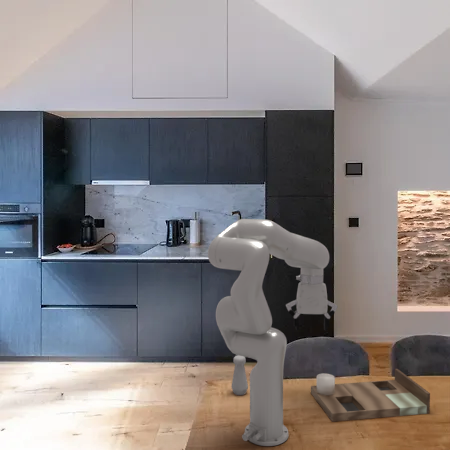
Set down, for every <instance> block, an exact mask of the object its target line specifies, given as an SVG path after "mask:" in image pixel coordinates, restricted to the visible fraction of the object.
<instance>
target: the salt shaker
mask: <svg viewBox="0 0 450 450" xmlns="http://www.w3.org/2000/svg"><path fill="white" fill-rule="evenodd" d="M246 362H247V361H246V357H244V356H240V355H235V356H234V357H233V364H234V369H233V375H232V381H231V389H232V393H233V394H234V395H236V396H244V395H246V393H247V391H248V389H249V385H248V384H249V383H248V381H247V373H246V368H245V367H246V366H245V364H246Z"/></svg>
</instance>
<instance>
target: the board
mask: <svg viewBox="0 0 450 450" xmlns="http://www.w3.org/2000/svg"><path fill="white" fill-rule="evenodd" d="M310 394H311V396H313V398H314V400H315V401H316V402H317V403H318V404H319V406H320V407H321V408H322V410H323V411H324V412H325V415H326V416H327V417H328V418H329V420H330V421H331V422H344V421H353V420H354V421H355V420H367V419H376V418H391V417H401V416H402V417H403V416H404V417H405V416H411V415H412V416H413V415H414V416H415V415H426V414H430V412H431V411H430V410H431V408H430V407H431V393H430V392H429V391H428V390H426V389H425V388H424V387H423V386H421V385H420V384H418V382H416V381H414V380H413V379H412V378H410V377H409V376H408V375H406V374H405V373H404V372H403V371H401V370H400V369H398V368H394V379H388V380H386V379H385V380H374V381H361V382H346V383H345V382H344V383H335V393H334V394H333V395H321V394H319V393H317V384H315V385H311V386H310Z"/></svg>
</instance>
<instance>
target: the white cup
mask: <svg viewBox="0 0 450 450" xmlns="http://www.w3.org/2000/svg"><path fill="white" fill-rule="evenodd" d="M335 382H336V377H335V375H333V374H331V373H326V372H325V373H323V372H322V373H319V374H317V375H316V385H317V393H319V394H321V395H333V394H334V393H335V384H336V383H335Z"/></svg>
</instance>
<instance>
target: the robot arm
mask: <svg viewBox="0 0 450 450" xmlns="http://www.w3.org/2000/svg"><path fill="white" fill-rule="evenodd" d="M270 255H271V256H273V257H275V258H277V259H280V260H284V262H285V263H286V264H287V265H288V266H290V267H292V268H300V274H299V275H296V276H295V277H296V279H295V280H297V281H300V282H299V283H298V285H297V291H296V299H294V300H292V301H290V302H288V303H286V304H285V308H286V309H287V311H288V313H289V315H291V316H292V317H293V327H294V328H295V330H296V331H299V330H300V329H299V326H300V325H299V324H300V319H299V317H300V315H301V314H303V315H324V317H323V330H324V331H328V328H330V319H331V318H332V317H333V315H335V312H336V311H337V309H338V305H337V304H335V303H333V302H331V301H330V300H328V293H327V285H326V283H324V269H325V268H326V267H327V266H328V264H329V262H330V252H329V250H328V248H327V247H326V246H325V245H324V244H323V243H321V242H320V241H318V240H315V239H312V238H310V237H306V236H303V235H300V234H296V233H293V232H290V231H289V230H287V229H285V228H283V227H282V226H281V225H279V224H278V223H276V222H274V221H272V220H270V219H264V218H263V219H260V218H259V219H257V218H254V219H253V218H240V219H238V220H236V221H234V222H232V223H231V224H229V226H227V227H226V228H225V229H223V230H222V232H220V233H219V234H218V235H216V236H215V237H214V238H213V240H211V242H210V244H209V246H208V248H207V258H208V261H209V263H210V264H211V265H212V266H213V267H215V268H217V269H221V270H222V269H223V270H231V271H241V272H240V273H239V275H238V277H237V278H236V280H235V281H234V282H233V284H232V286H231V287H230V295H227V296H225V297H222V298H221V299H220V301H218V304H217V306H216V309H215V321H216V325H217V327H218V330H219V331H220V334H221V336H222V339H223V340H224V343H225V345H226V347H227V348H228V350H229V351H230V352H231V353H232V354H234V355H235V356H237V355H240V356H244V357H245V358H249V359H253V360H255V361H256V362H257V363H256V364H255V365H254V367H252V369H251V370H250V374H249V423H248V424H247V425H246V426H245V428H244V433H242V435H241V438H242V440H243V441H244V442H247V441H249V442H250V443H251V444H254V445H258V446H262V447H273V446H279V445H282V444H283V443H285V442H286V441H287V440H288V438H289V430H288V428H287V426H286V425H284V366H285V365H284V363H285V357H286V353H287V352H286V351H287V341H288V340H287V337H286V335H285V334H284V333H283V332H282V331H281V330H279V329H278V328H275V327H272V324H273V317H272V313H271V310H270V307H269V305H268V301H267V300H266V297H265V294H264V290H263V283H264V278H265V274H266V272H267V269H268V265H269V261H270ZM294 306H296V310H295V311H294V310H292V307H294ZM328 306H329V307H331V309H330V310H329V311H328V308H329V307H328Z"/></svg>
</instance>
